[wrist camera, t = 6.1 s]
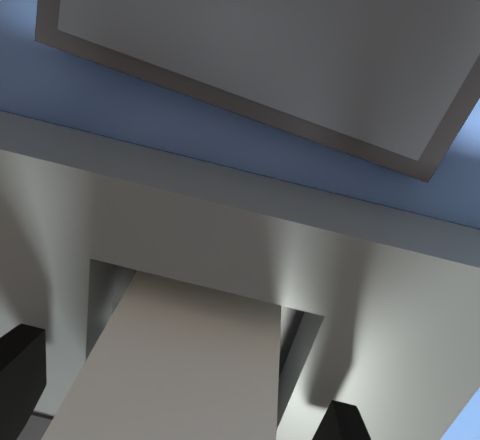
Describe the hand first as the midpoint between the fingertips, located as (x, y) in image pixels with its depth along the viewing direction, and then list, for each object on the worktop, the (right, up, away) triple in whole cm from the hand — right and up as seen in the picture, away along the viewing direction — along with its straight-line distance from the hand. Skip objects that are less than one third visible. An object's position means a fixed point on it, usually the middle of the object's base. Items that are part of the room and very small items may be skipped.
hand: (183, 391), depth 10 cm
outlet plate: (-1, +1, +3) cm, 3 cm away
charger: (0, +1, +2) cm, 3 cm away
